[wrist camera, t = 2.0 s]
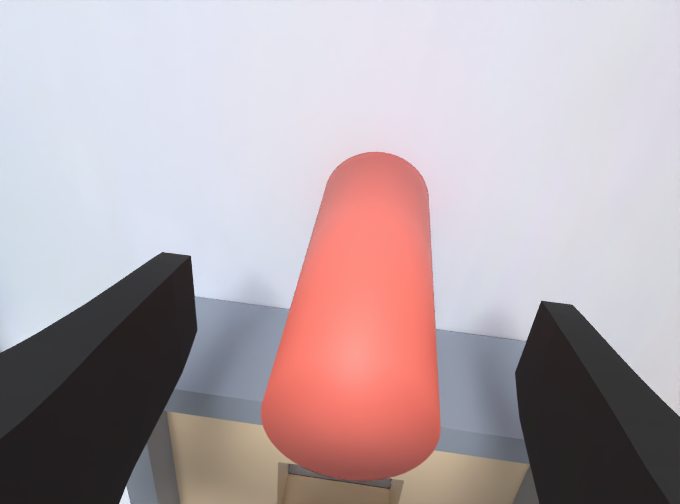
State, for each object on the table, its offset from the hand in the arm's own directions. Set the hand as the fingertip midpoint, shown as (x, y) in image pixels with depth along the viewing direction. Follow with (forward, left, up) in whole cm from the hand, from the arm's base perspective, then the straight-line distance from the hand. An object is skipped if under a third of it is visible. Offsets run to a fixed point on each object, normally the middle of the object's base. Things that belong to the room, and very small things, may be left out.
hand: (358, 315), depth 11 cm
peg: (0, 0, -5) cm, 5 cm away
